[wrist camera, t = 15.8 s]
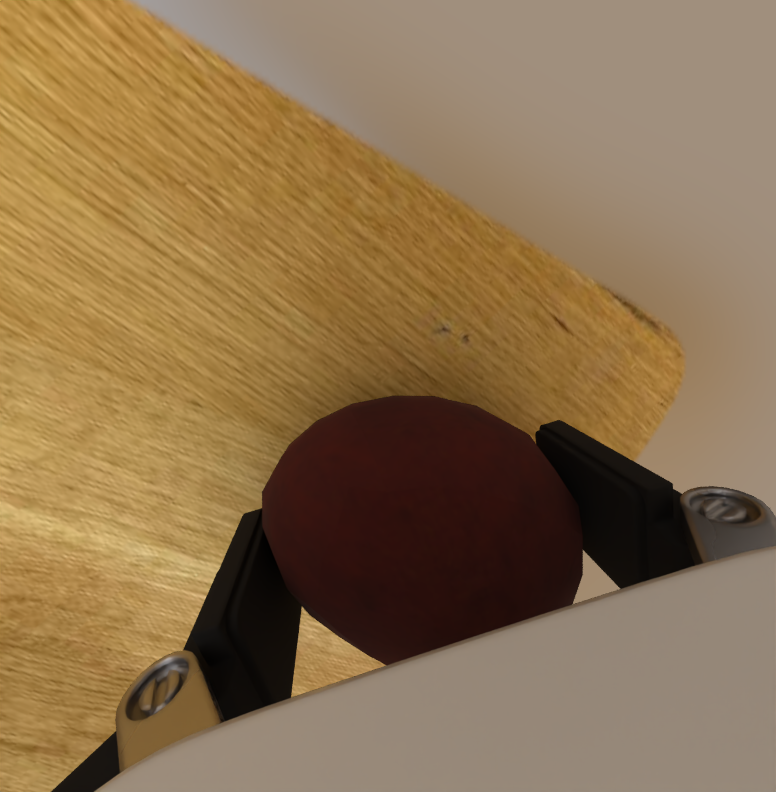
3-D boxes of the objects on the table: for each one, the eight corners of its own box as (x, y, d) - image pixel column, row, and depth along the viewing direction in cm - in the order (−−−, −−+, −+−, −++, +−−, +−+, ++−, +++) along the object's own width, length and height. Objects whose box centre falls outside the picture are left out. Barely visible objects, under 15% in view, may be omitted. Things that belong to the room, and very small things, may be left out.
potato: (313, 336, 12) (279, 394, 5) (535, 409, 13) (731, 524, 7) (256, 527, 13) (171, 766, 7) (461, 570, 15) (560, 792, 8)
